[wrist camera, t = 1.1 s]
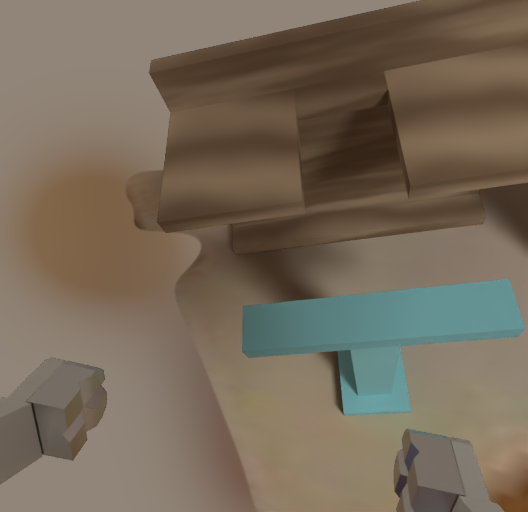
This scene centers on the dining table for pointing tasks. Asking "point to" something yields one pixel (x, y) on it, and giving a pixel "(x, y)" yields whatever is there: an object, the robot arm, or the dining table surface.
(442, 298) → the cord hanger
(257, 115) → the wall shelf
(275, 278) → the dining table surface
